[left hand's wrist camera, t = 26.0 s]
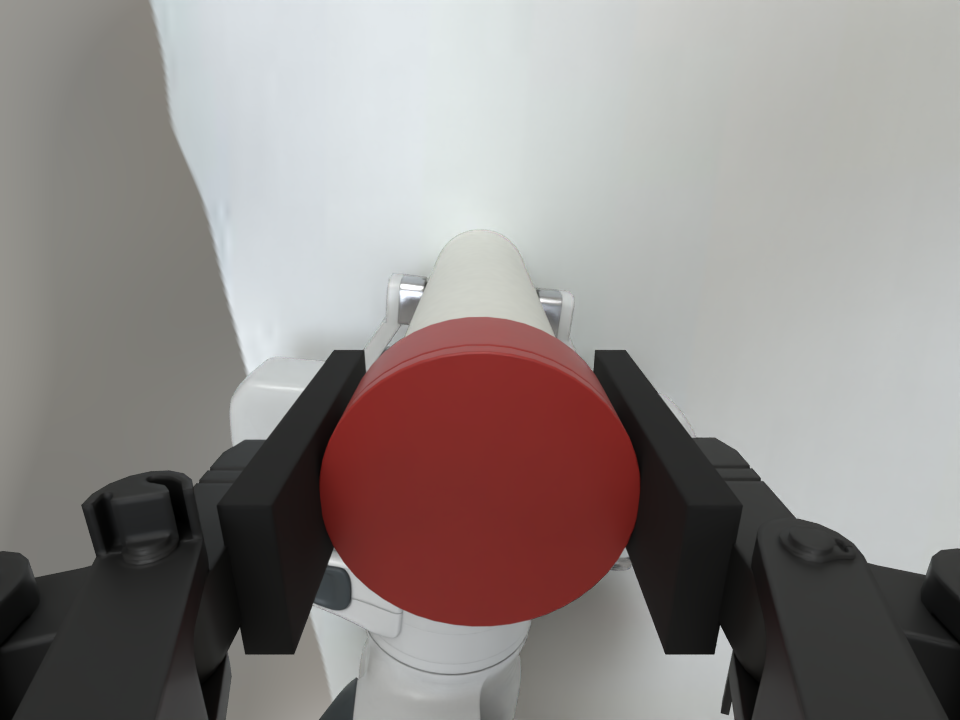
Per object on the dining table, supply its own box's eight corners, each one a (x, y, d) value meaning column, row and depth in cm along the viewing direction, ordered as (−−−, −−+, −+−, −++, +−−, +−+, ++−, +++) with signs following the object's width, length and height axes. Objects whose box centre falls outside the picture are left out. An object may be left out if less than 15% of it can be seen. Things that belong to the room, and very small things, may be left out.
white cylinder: (416, 280, 29) (310, 484, 11) (474, 209, 28) (463, 306, 10) (485, 336, 30) (493, 606, 12) (543, 269, 29) (651, 459, 11)
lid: (290, 413, 12) (250, 467, 10) (518, 258, 11) (527, 282, 9) (449, 592, 13) (443, 670, 11) (661, 474, 12) (697, 538, 10)
